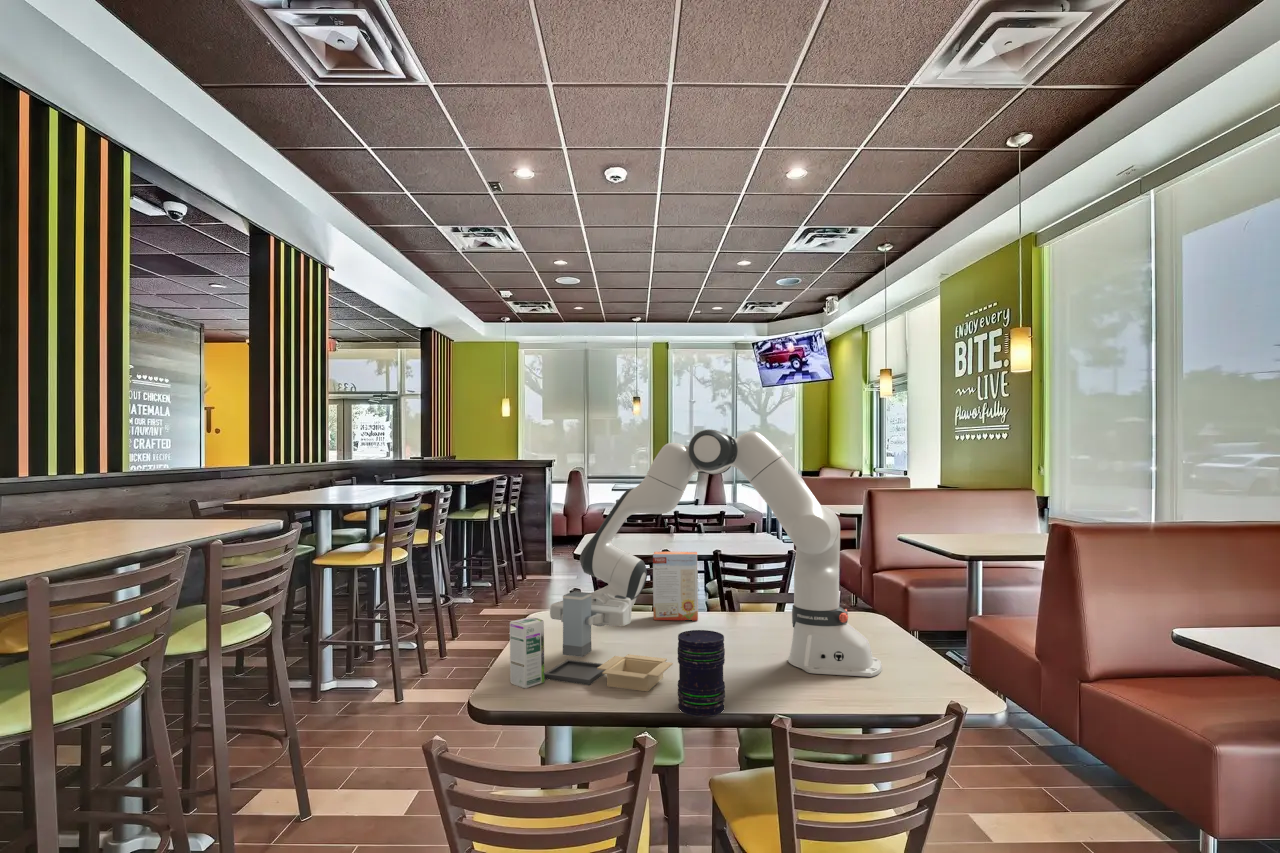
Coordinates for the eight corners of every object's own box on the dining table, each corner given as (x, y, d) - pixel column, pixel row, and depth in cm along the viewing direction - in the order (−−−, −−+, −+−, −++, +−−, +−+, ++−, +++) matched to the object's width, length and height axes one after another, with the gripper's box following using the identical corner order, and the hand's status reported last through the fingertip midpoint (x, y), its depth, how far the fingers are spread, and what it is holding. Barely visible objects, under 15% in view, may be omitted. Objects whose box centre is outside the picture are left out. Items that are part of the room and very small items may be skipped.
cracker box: (698, 616, 228) (697, 551, 228) (697, 621, 222) (697, 553, 222) (654, 615, 229) (654, 550, 229) (652, 620, 223) (652, 553, 223)
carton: (676, 675, 170) (676, 659, 170) (654, 696, 156) (654, 679, 156) (619, 668, 175) (618, 653, 175) (592, 688, 161) (592, 671, 161)
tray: (610, 669, 174) (610, 664, 174) (589, 685, 163) (589, 679, 163) (567, 664, 179) (567, 659, 179) (543, 678, 168) (543, 673, 168)
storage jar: (731, 703, 152) (730, 632, 152) (716, 720, 143) (716, 644, 143) (687, 696, 156) (686, 628, 156) (670, 712, 147) (670, 639, 147)
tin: (591, 651, 173) (591, 593, 173) (581, 657, 168) (581, 597, 168) (572, 648, 175) (572, 591, 175) (562, 654, 170) (562, 595, 170)
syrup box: (525, 689, 161) (525, 624, 161) (509, 683, 165) (509, 620, 165) (544, 682, 165) (544, 619, 165) (528, 677, 169) (528, 615, 169)
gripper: (564, 592, 188) (537, 603, 175) (636, 598, 180) (613, 610, 167) (564, 616, 187) (537, 629, 175) (636, 623, 180) (613, 637, 167)
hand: (575, 620), depth 171 cm, fingers closed on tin, 5 cm apart
